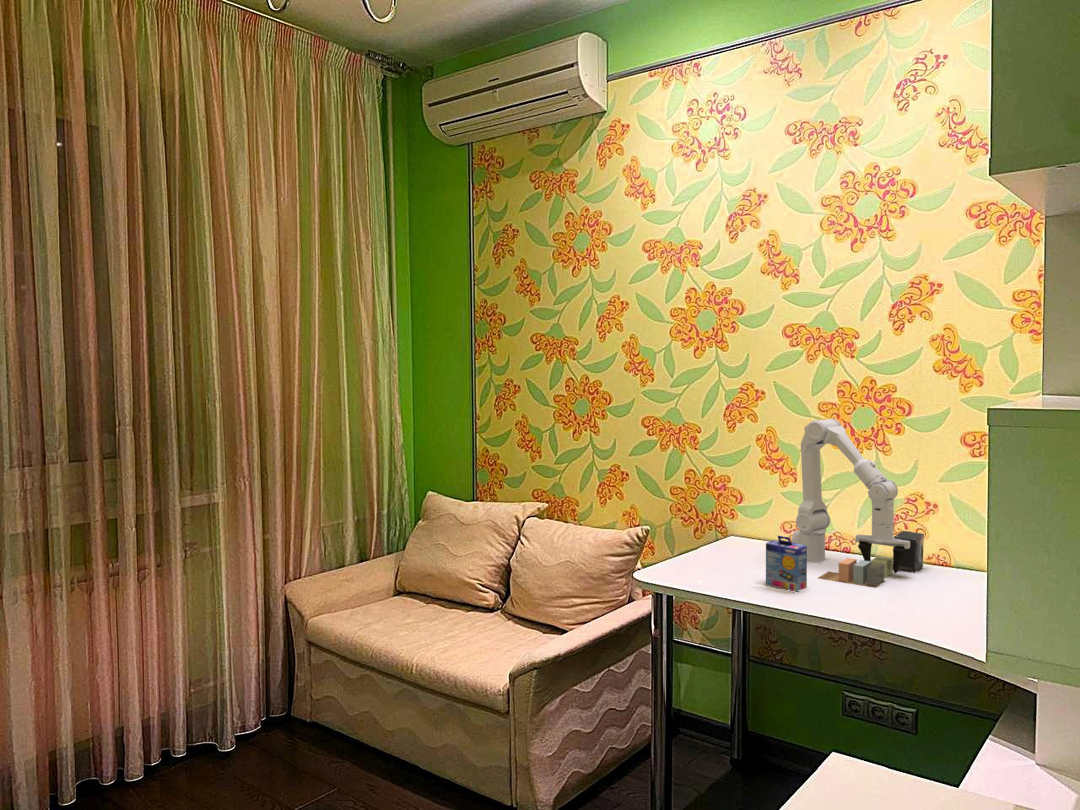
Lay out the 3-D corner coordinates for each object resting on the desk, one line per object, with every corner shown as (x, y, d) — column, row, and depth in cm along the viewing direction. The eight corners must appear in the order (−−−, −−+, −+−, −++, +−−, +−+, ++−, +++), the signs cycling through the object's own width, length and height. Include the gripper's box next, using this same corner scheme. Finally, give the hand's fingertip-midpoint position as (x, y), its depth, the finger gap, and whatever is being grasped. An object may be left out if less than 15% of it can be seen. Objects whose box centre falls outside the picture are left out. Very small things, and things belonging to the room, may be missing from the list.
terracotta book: (838, 580, 231) (838, 562, 230) (847, 575, 236) (847, 558, 236) (847, 582, 229) (848, 564, 229) (856, 576, 235) (856, 559, 234)
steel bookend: (866, 585, 226) (867, 567, 226) (874, 579, 231) (875, 562, 231) (875, 586, 224) (876, 568, 224) (883, 581, 230) (884, 563, 230)
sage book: (870, 577, 236) (870, 560, 236) (878, 572, 241) (878, 555, 241) (885, 580, 233) (885, 562, 233) (892, 575, 239) (892, 557, 239)
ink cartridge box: (764, 586, 228) (764, 534, 227) (774, 582, 232) (775, 531, 231) (797, 593, 221) (797, 539, 220) (807, 589, 225) (808, 536, 224)
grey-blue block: (853, 583, 228) (853, 565, 228) (861, 577, 234) (861, 560, 233) (862, 584, 227) (863, 566, 226) (870, 579, 232) (871, 561, 232)
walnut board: (816, 580, 234) (817, 578, 234) (828, 573, 241) (828, 571, 240) (875, 589, 224) (875, 587, 223) (885, 582, 231) (885, 580, 230)
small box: (915, 575, 238) (916, 539, 237) (891, 571, 242) (892, 536, 241) (924, 567, 246) (925, 532, 246) (901, 564, 250) (901, 530, 250)
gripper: (852, 522, 238) (851, 568, 239) (905, 528, 229) (904, 576, 230) (860, 518, 243) (859, 564, 244) (912, 524, 234) (911, 571, 235)
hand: (881, 570), depth 237 cm, fingers open, 7 cm apart
